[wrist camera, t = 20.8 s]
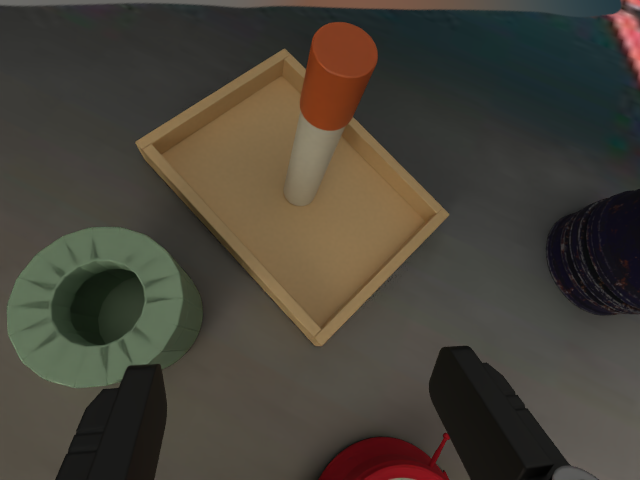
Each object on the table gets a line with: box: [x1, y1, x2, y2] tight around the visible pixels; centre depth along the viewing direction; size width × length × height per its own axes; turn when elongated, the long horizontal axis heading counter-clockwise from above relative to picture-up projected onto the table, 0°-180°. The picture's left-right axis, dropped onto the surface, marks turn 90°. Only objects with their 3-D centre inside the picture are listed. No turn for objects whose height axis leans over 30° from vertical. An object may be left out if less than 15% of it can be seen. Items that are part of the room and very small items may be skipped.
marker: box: [284, 22, 378, 206], centre depth 22 cm, size 3×3×15 cm
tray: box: [135, 49, 449, 346], centre depth 29 cm, size 20×15×3 cm
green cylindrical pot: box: [7, 227, 203, 388], centre depth 21 cm, size 8×8×8 cm
